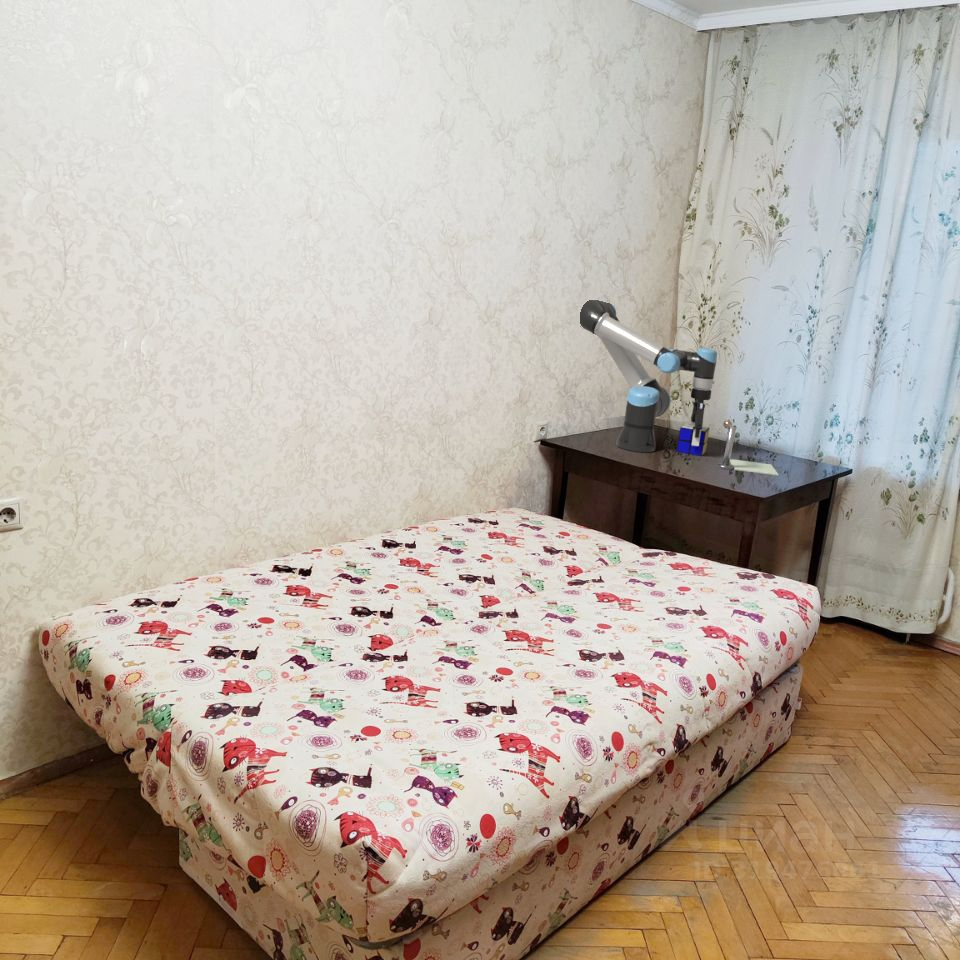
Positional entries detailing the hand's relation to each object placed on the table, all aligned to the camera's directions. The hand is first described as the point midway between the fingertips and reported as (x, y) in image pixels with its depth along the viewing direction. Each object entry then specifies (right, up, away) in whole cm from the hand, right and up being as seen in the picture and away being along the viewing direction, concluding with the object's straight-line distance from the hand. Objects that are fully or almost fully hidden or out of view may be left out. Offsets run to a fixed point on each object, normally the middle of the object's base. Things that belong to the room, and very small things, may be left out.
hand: (693, 442), depth 351 cm
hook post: (+8, -9, -14) cm, 18 cm away
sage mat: (+19, -10, -15) cm, 26 cm away
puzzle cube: (-1, -4, +1) cm, 4 cm away
